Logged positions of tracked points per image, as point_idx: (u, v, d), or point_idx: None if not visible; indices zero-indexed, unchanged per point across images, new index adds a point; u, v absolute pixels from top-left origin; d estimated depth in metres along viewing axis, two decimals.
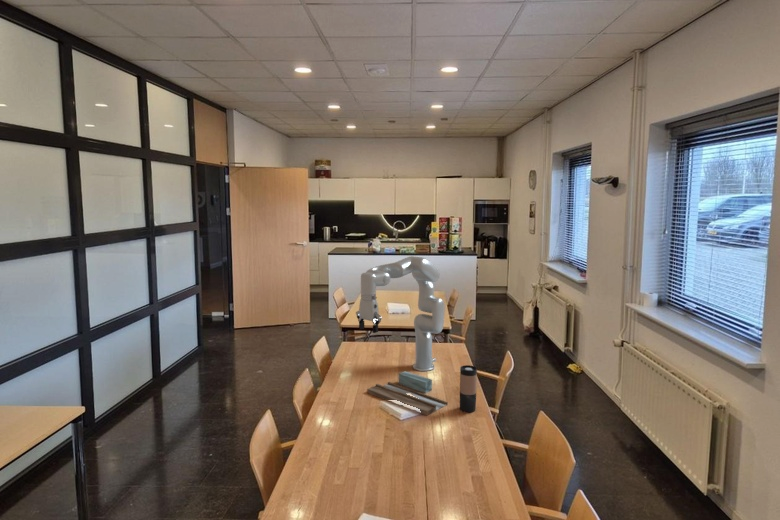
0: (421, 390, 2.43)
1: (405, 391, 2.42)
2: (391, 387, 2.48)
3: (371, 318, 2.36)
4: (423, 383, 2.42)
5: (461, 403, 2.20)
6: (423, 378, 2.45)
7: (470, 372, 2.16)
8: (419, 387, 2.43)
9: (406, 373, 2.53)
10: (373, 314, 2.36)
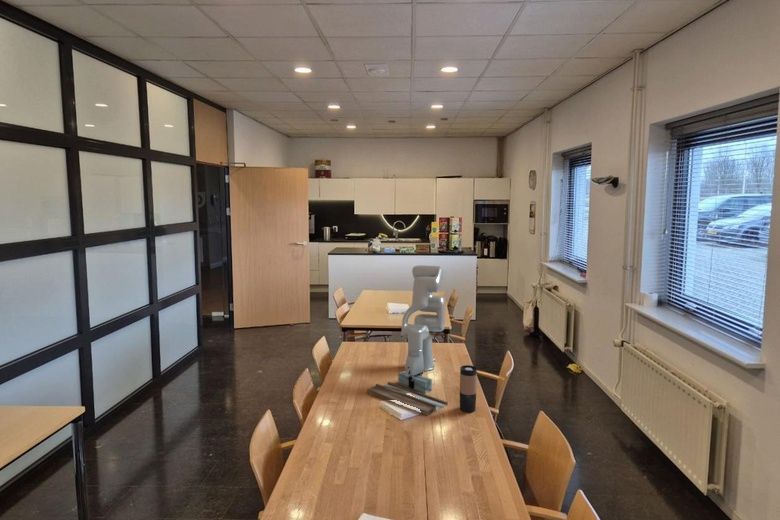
0: (421, 390, 2.42)
1: (405, 391, 2.42)
2: (391, 387, 2.48)
3: (423, 369, 2.49)
4: (422, 383, 2.41)
5: (461, 403, 2.20)
6: (423, 378, 2.45)
7: (470, 372, 2.16)
8: (419, 387, 2.43)
9: None
10: None
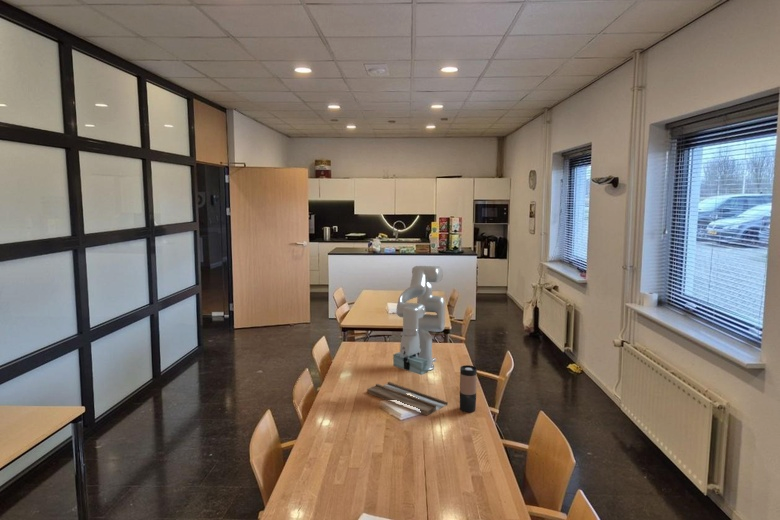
0: (417, 371, 2.29)
1: (405, 391, 2.42)
2: (391, 387, 2.48)
3: (419, 350, 2.36)
4: (418, 364, 2.28)
5: (461, 403, 2.20)
6: (419, 359, 2.32)
7: (470, 372, 2.16)
8: (414, 368, 2.30)
9: None
10: None
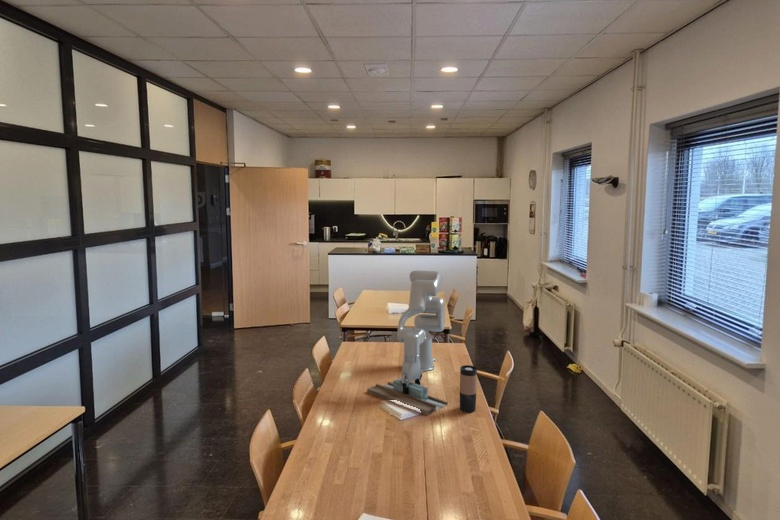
0: None
1: None
2: (391, 387, 2.48)
3: (420, 375, 2.38)
4: (418, 391, 2.30)
5: (461, 403, 2.20)
6: (419, 386, 2.34)
7: (470, 372, 2.16)
8: (414, 396, 2.31)
9: None
10: None
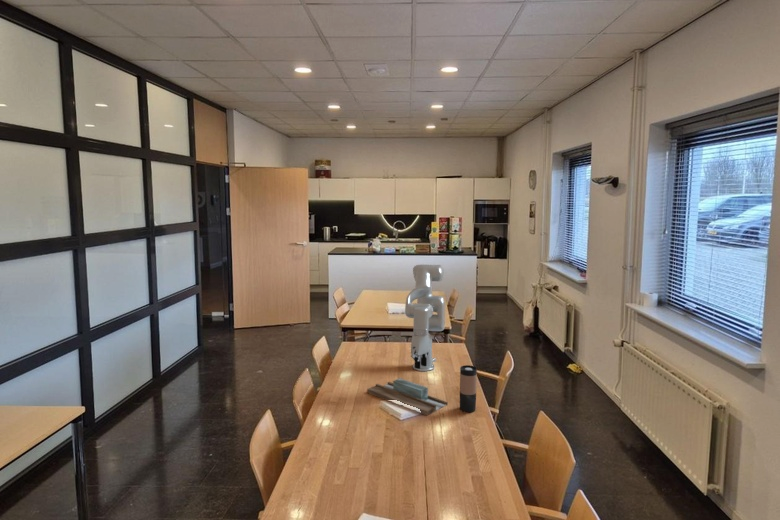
0: None
1: None
2: (391, 387, 2.48)
3: (429, 349, 2.42)
4: (418, 391, 2.30)
5: (461, 403, 2.20)
6: (419, 386, 2.34)
7: (470, 372, 2.16)
8: (414, 396, 2.31)
9: (401, 380, 2.41)
10: None
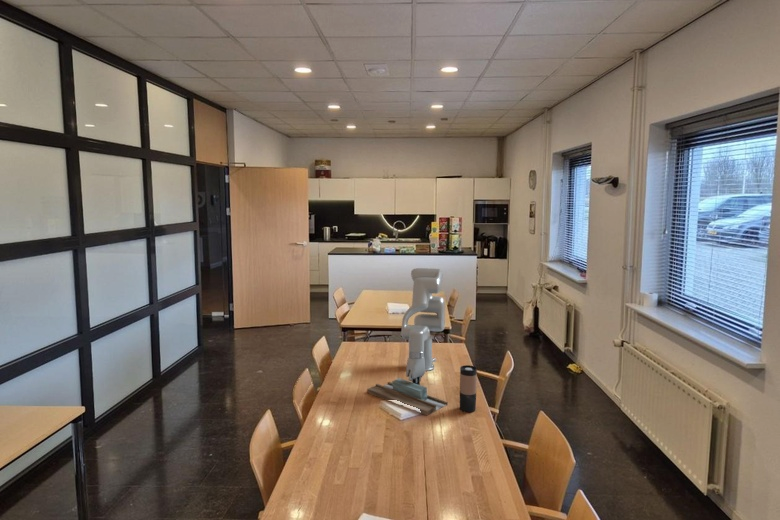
0: None
1: None
2: (391, 387, 2.48)
3: (424, 371, 2.40)
4: (417, 392, 2.29)
5: (461, 403, 2.20)
6: (418, 386, 2.33)
7: (470, 372, 2.16)
8: (414, 396, 2.31)
9: (400, 380, 2.41)
10: None
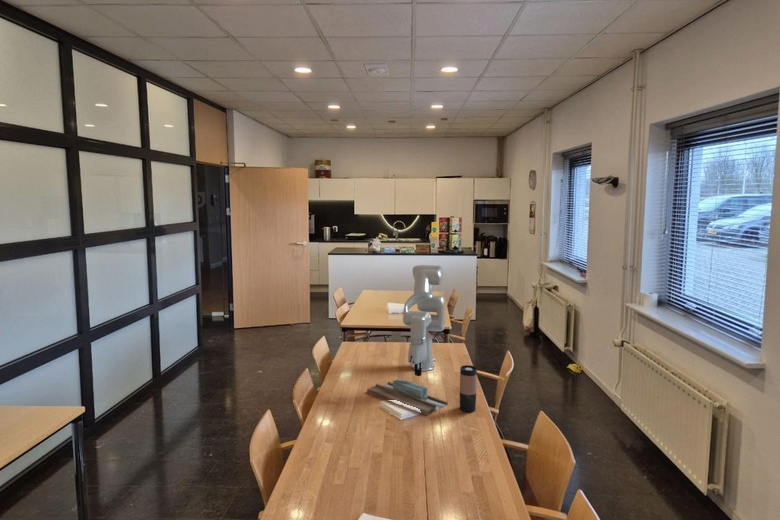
0: None
1: None
2: (391, 387, 2.48)
3: (426, 357, 2.41)
4: (418, 392, 2.29)
5: (461, 403, 2.20)
6: (418, 386, 2.33)
7: (470, 372, 2.16)
8: (414, 396, 2.31)
9: (401, 380, 2.41)
10: None
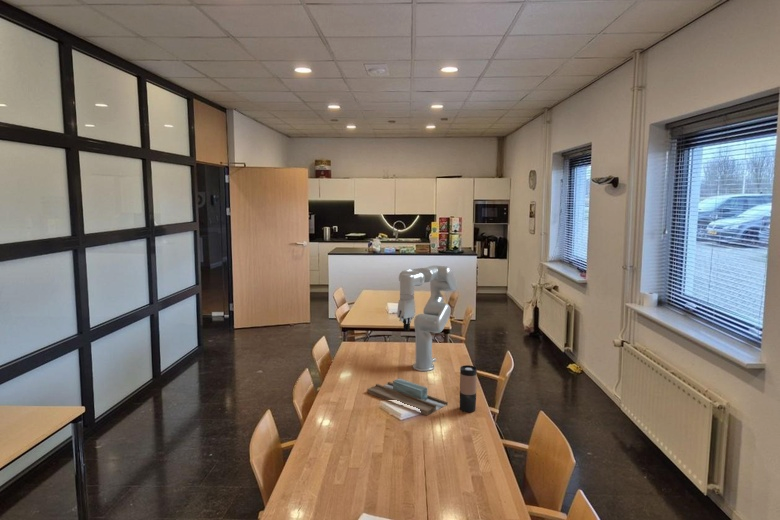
0: None
1: None
2: (391, 387, 2.48)
3: (414, 313, 2.58)
4: (418, 392, 2.29)
5: (461, 403, 2.20)
6: (418, 386, 2.33)
7: (470, 372, 2.16)
8: (414, 396, 2.31)
9: (401, 380, 2.41)
10: None
